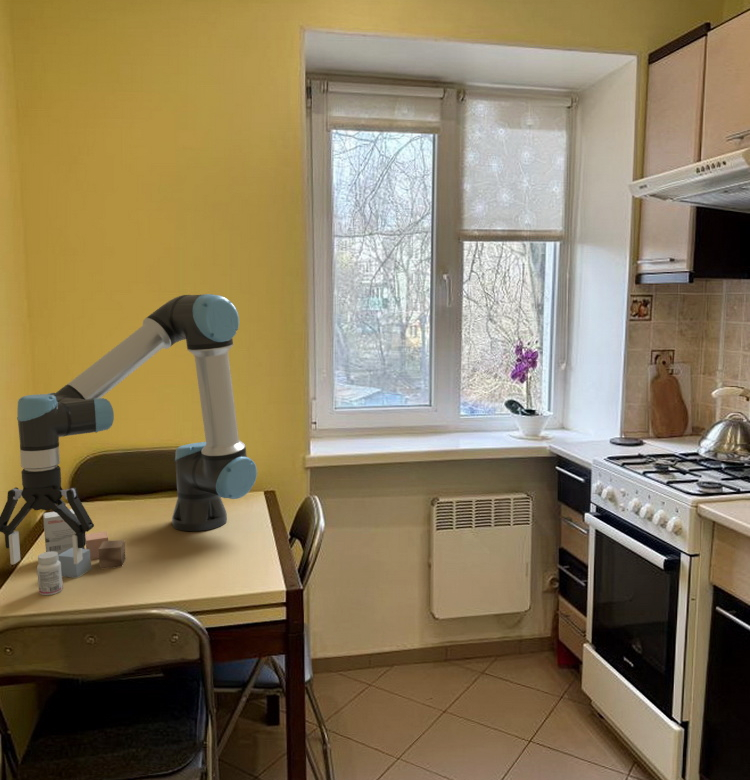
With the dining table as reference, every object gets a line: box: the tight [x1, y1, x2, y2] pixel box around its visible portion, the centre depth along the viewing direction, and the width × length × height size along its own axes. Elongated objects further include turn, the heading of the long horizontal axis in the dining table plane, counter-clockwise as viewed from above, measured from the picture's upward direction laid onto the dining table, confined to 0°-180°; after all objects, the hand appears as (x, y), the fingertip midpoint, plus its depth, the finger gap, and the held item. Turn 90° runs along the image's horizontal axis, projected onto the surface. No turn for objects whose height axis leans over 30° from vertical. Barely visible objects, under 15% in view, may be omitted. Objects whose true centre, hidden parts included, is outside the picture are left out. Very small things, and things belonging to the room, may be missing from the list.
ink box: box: [42, 508, 86, 555], centre depth 165 cm, size 9×5×12 cm, turn 118°
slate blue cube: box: [58, 548, 92, 579], centre depth 156 cm, size 5×5×5 cm
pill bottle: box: [36, 551, 64, 596], centre depth 146 cm, size 5×5×8 cm
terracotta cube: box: [85, 530, 109, 560], centre depth 167 cm, size 5×5×5 cm
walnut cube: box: [98, 539, 127, 570], centre depth 162 cm, size 5×5×5 cm
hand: (47, 562), depth 146 cm, fingers open, 13 cm apart
